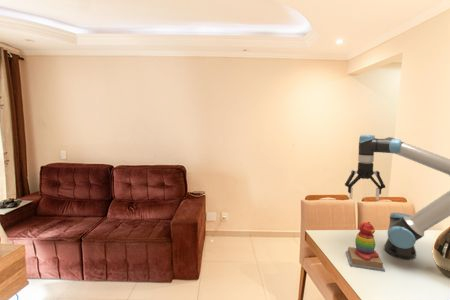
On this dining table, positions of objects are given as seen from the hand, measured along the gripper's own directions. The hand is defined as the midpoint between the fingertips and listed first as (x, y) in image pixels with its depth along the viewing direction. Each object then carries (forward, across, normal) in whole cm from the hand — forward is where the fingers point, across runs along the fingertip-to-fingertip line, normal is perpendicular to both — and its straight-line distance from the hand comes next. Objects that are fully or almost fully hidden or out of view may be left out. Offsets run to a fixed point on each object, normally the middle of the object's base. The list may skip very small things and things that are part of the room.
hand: (363, 199), depth 140 cm
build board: (+32, +2, +10) cm, 34 cm away
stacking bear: (+28, +1, +10) cm, 30 cm away
